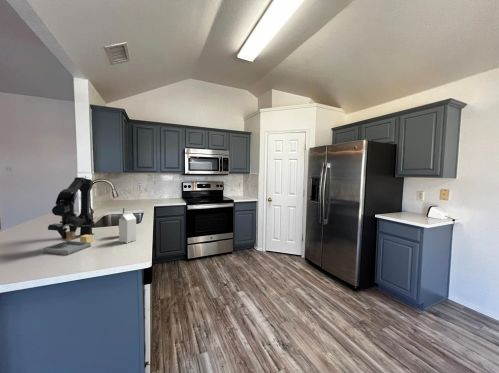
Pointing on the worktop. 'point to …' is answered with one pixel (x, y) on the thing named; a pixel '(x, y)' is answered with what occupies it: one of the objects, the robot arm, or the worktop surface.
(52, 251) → the tray
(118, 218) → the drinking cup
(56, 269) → the worktop surface
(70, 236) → the walnut block
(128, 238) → the milk carton
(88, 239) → the mustard block
